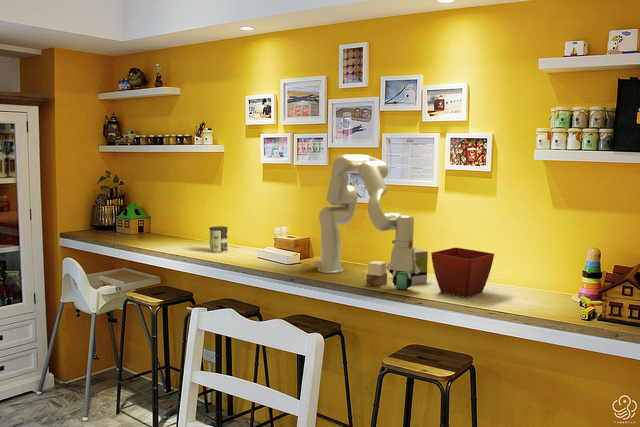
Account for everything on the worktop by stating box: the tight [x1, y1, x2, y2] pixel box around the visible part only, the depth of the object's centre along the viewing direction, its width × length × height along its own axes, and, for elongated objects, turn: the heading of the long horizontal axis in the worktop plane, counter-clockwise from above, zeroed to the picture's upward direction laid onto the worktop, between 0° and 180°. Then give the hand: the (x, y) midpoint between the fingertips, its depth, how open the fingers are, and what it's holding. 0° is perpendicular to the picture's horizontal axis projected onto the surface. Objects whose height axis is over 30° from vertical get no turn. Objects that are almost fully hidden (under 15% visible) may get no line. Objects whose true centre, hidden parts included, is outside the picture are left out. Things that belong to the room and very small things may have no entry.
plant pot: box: [430, 247, 495, 298], centre depth 230 cm, size 19×19×17 cm
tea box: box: [398, 246, 429, 285], centre depth 252 cm, size 15×10×15 cm, turn 21°
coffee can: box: [209, 225, 229, 254], centre depth 318 cm, size 10×10×14 cm
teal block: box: [395, 272, 408, 290], centre depth 235 cm, size 5×5×6 cm
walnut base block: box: [365, 272, 388, 287], centre depth 243 cm, size 7×7×5 cm
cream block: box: [367, 260, 387, 276], centre depth 242 cm, size 6×6×5 cm
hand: (402, 285), depth 235 cm, fingers closed on teal block, 5 cm apart
